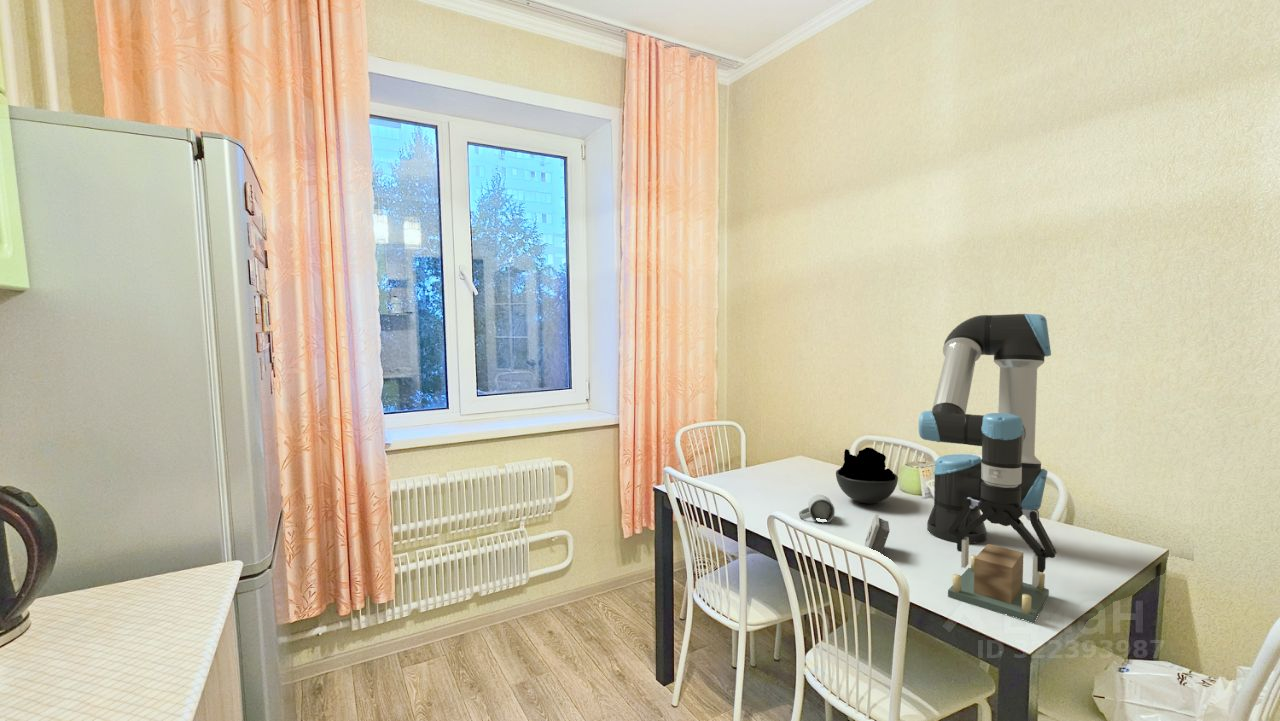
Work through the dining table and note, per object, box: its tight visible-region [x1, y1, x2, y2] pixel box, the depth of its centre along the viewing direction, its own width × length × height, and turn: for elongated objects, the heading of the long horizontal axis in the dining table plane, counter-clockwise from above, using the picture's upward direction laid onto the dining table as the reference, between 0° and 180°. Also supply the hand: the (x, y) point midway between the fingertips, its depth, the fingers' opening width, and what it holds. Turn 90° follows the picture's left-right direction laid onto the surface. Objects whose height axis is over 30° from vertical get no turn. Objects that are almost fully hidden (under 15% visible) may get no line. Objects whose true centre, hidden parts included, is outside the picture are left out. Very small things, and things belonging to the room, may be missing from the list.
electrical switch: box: [864, 513, 891, 554], centre depth 146 cm, size 9×5×9 cm, turn 158°
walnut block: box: [974, 543, 1024, 604], centre depth 121 cm, size 7×11×8 cm, turn 134°
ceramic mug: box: [798, 494, 836, 523], centre depth 172 cm, size 11×8×8 cm
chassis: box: [947, 554, 1050, 624], centre depth 121 cm, size 16×16×5 cm
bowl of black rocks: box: [835, 447, 899, 505], centre depth 186 cm, size 20×20×19 cm
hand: (998, 575), depth 121 cm, fingers open, 13 cm apart
